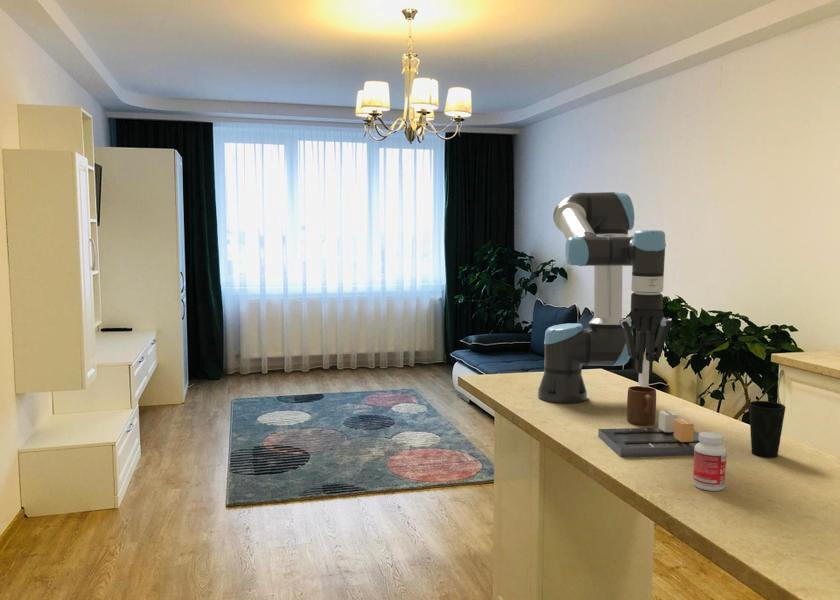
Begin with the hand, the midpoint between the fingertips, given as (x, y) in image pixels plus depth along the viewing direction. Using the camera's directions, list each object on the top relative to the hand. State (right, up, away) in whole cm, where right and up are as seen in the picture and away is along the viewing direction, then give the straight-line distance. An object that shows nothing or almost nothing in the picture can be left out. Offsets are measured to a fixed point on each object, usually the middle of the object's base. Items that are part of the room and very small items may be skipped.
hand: (643, 385), depth 174 cm
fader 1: (+6, -11, +1) cm, 13 cm away
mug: (+5, -13, +15) cm, 21 cm away
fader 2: (+7, -12, -7) cm, 16 cm away
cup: (+26, -15, -10) cm, 31 cm away
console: (+2, -14, -3) cm, 15 cm away
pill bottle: (+4, -17, -30) cm, 35 cm away
